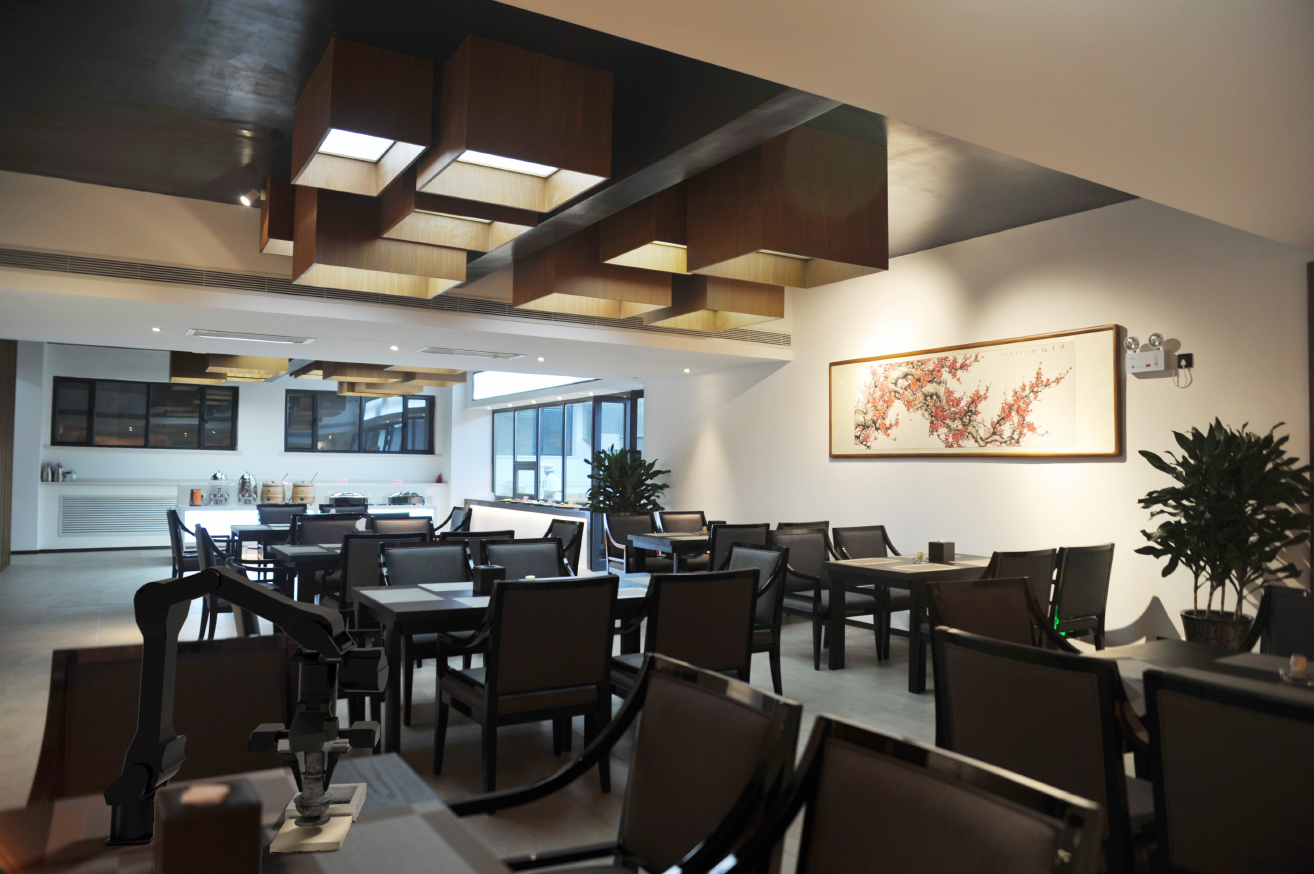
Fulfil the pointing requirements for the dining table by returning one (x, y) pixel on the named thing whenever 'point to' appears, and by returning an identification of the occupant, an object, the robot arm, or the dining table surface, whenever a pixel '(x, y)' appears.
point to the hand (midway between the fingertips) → (313, 791)
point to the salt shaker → (313, 793)
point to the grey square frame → (340, 793)
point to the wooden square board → (311, 836)
